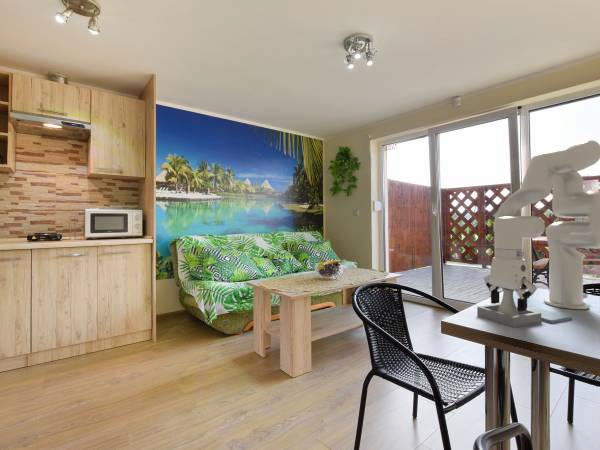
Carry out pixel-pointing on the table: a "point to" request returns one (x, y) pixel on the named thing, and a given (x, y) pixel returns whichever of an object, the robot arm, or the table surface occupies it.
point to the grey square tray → (509, 316)
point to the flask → (508, 303)
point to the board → (551, 316)
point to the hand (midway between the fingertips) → (508, 306)
